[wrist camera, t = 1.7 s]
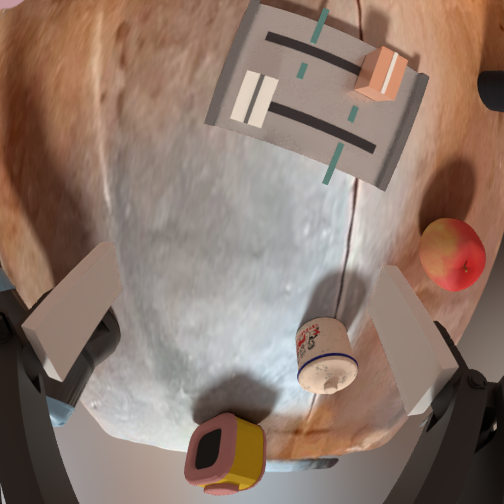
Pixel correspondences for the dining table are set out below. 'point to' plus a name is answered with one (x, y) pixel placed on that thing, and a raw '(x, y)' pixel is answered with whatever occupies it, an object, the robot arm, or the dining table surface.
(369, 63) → the fader
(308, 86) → the console
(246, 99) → the fader
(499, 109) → the black water bottle
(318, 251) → the dining table surface
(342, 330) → the teacup with lid
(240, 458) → the alarm clock
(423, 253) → the apple
